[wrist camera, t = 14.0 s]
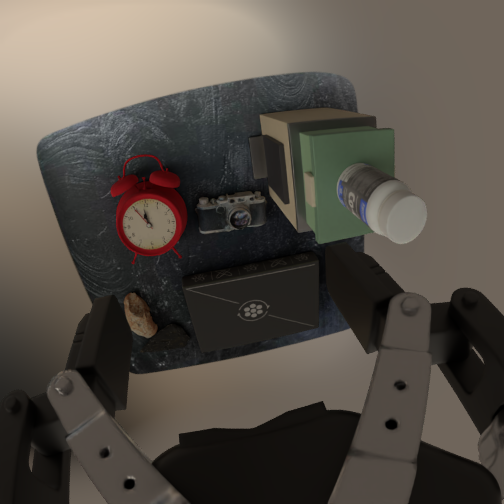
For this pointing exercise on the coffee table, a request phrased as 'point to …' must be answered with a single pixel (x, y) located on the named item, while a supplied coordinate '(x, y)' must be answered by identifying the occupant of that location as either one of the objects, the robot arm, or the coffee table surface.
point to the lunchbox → (329, 170)
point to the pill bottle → (382, 202)
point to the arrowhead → (167, 339)
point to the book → (254, 301)
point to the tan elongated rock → (139, 316)
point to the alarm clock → (150, 212)
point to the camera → (231, 212)
